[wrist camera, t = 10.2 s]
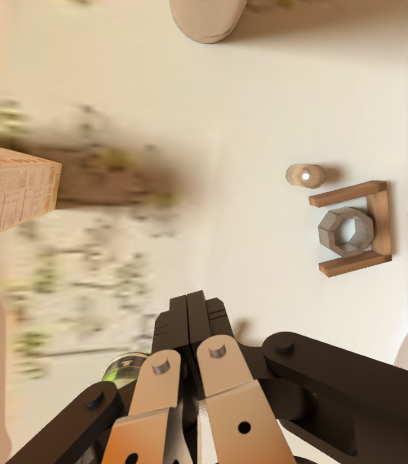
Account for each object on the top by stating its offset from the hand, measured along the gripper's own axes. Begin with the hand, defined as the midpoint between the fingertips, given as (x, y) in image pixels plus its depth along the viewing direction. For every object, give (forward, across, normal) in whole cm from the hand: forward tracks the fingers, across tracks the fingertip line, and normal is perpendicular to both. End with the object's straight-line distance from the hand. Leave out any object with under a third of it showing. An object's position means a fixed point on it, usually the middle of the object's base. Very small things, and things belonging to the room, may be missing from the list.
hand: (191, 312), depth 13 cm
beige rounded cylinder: (+31, -18, 0) cm, 35 cm away
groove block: (+30, -24, +10) cm, 40 cm away
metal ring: (+30, -23, +10) cm, 40 cm away
